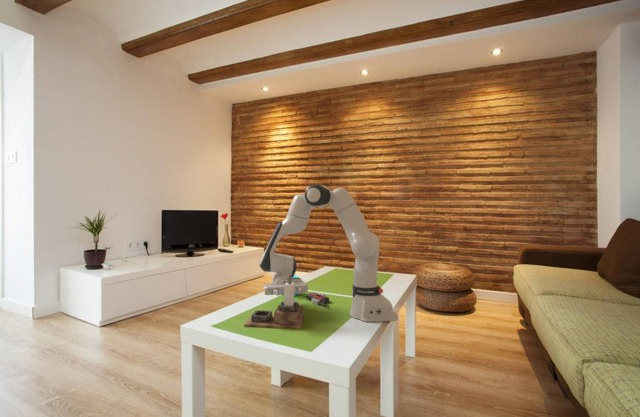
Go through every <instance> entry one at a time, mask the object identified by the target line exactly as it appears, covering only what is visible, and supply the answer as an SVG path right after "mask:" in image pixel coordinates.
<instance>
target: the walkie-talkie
mask: <svg viewBox="0 0 640 417" xmlns="http://www.w3.org/2000/svg"><path fill="white" fill-rule="evenodd" d="M305 298H306V299H307V300H309V301H310V302H311V303H312V304H315V305H317V306H318V305H321V306H323V307H328V308H330V307H331V305H328V303H330V297H328V296H326V294H325V293H321V292H319V293H318V292H316V291H315V292H311V293H307V295H306V296H305Z"/></svg>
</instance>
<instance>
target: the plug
mask: <svg viewBox="0 0 640 417" xmlns="http://www.w3.org/2000/svg"><path fill="white" fill-rule="evenodd" d="M295 296H296V295H295V283H291V275H290V274H289V275H288V283H285V285H284V295H283V302H284V306H289V307H294V302H295Z"/></svg>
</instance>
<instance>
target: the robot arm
mask: <svg viewBox="0 0 640 417" xmlns="http://www.w3.org/2000/svg"><path fill="white" fill-rule="evenodd" d="M329 206H330V207H331V209H332V211H333V212H334V213H335V215H336V217H337V219H338V221H339V222H340V224H341V226H342V229H343V230H344V232H345V235H346V238H347V241H348V243H349V246H350V248H351V251H352V253H353V254H354V256H355V260H354V266H353V284H352V286H351V287H352V288H351V297H352V300H351V301H352V302H351V306H350V310H349V312H348V313H349V316H350V317H352V318H355V319H358V320H361V321H362V322H365V323H369V322H372V323H375V322H397V320H398V319H399V316H398V313H397V312H396V311H395V310H394V308H393V305H392V303H391V301H390V299H388V298H387V297H386V296H384V295H383V293H384V289H383V288H382V287H381V286H380V285H378V266H379V258H380V256H379V254H380V240H379V237H378V236H377V235H376V234H375V233H373V232H371V231H370V230H369V227H368V225H367V222H366V220H365V217H364V215H363V214H362V212H361V210H360V208H359V206H358V205H357V203H356V201H355V199H354V198H353V197H352V195H351V194H350V193H349V191H348V190H347V189H345V188H344V187H337V188H335V189H333V190H332V189H331V188H329V187H327V186H325V185H324V184H317V183H315V184H311V185H309V186H308V187H306V189H305V192H304V193H298V194H295V195H294V197H293V199H292V201H291V203H290V205H289V206H288V207H289V208H288V211H287V215H286V217H285V218H284V219H283V220H282V221H280V222H278V223H277V225H276V227H275V228H274V230H273V232H272V234H271V236H270V238H269V241H268V243H267V245H266V247H265V249H264V251H263V253H262V254H261V256H260V259H259V267H260V269H261V270H262V271H263V272H267V273H268V272H269V273H273V274H272V276H271V283H265V285H263V286H262V289H263V290H264V291H263V292H264V293H263V294H264V295H266V296H271V295H272V296H277V297H278V296H284V285H285V283H288V275H289V274H290V275H291V283H295V293H297V294H298V295H302V294H305V293H306V294H308V293H309V285H308V283H307V282H306V281H304V280H302V277H299V278H294V277H293V276H296V272H297V265H298V264H297V261H296V259H295V257H294V256H292V255H288V254H281V253H277V252H275V251H276V249H277V245H278V244H279V241H280V240H281V239H282V238H283V237H284V236H287V235H292V234H293V235H295V234H298V233H302V231H303V232H304V230H305V229H306V228H307V225H308V223H309V219H310V215H311V214H312V213H311V212H312V210H313V209H314V208H327V207H329Z"/></svg>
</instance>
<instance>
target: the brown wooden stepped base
mask: <svg viewBox="0 0 640 417" xmlns="http://www.w3.org/2000/svg"><path fill="white" fill-rule="evenodd" d="M304 320H305V315H304V305H300V302H297V301H294V307H289V306H284V301H282V302H280V304H278V306H277V307H276V309H274V313H273V311H272V310H255V311H254V312H253V313H252V314H251V315H250V316H249V317H248V319H246V321H245V322H244V324H243V326H244V327H246V328H247V327H250V328H251V327H252V328H253V327H254V328H268V329H269V328H273V329H274V328H275V329H294V330H301V329H302V326H303V322H304Z"/></svg>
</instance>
